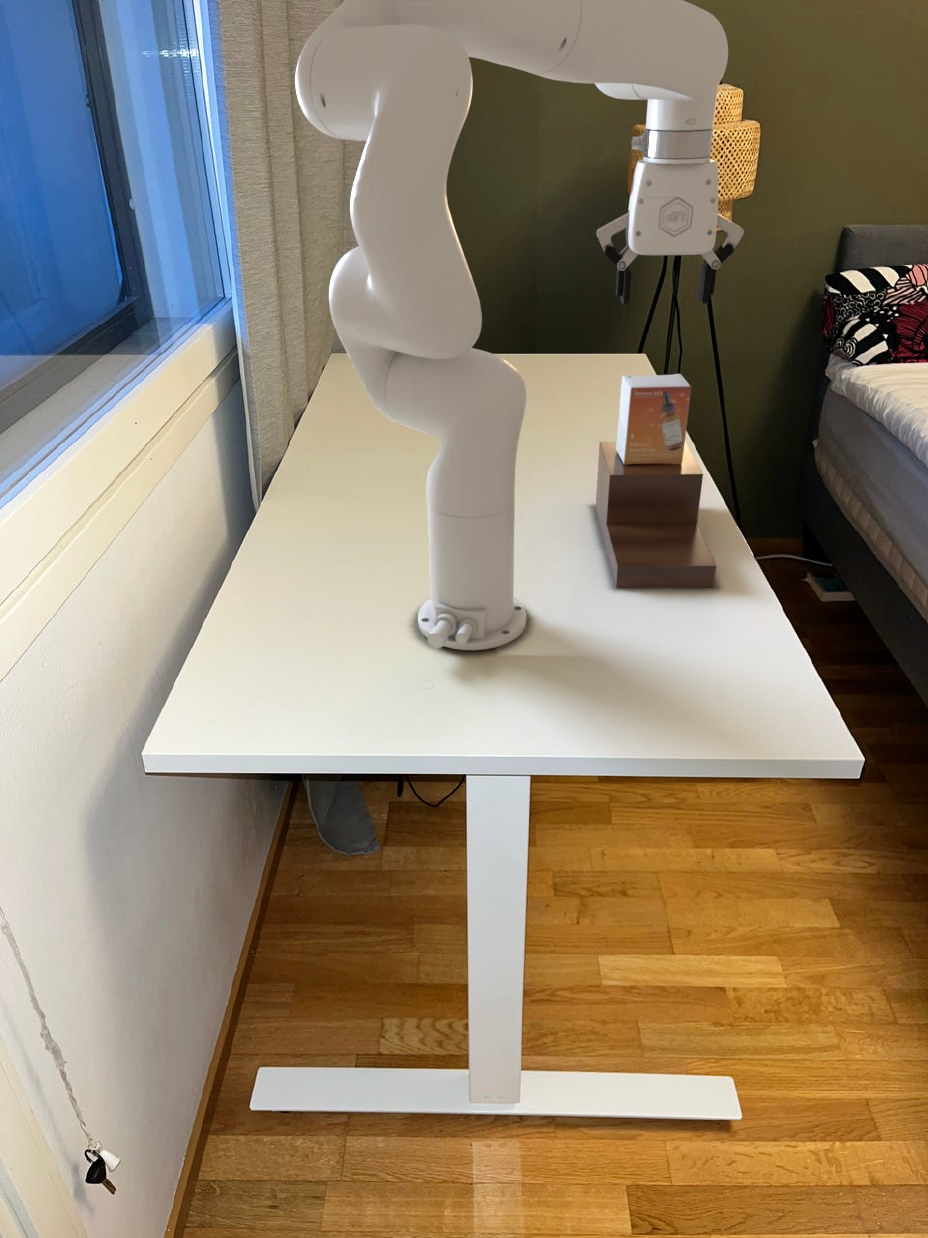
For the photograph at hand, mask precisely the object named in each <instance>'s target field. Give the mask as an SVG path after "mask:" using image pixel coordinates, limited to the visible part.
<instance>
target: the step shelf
mask: <svg viewBox="0 0 928 1238" xmlns="http://www.w3.org/2000/svg"><path fill="white" fill-rule="evenodd" d="M616 445H617V441H599V447H598V460H597V461H598V463H597V478H596V479H597V480H596V495H595V510H596V513H597V517H598V522H599V525H600V530H601V534H602V538H603V541H604V544H605V550H606V554H607V558H608V563H609V565H610V569H611V573H612V577H613V581H614V585H615V589H644V588H645V589H646V588H647V589H650V588H653V589H655V588H657V589H659V588H667V589H668V588H669V589H670V588H671V589H672V588H714V585H715V581H716V580H715V579H716V572H717V565H716V562H715V560H714V557H713V556H712V553H711V550H710V549H709V547H708V545H707V542H706V540H705V537H704V536H703V534H702V533H703V532H702V531H701V529H700V527H699V525H698V519H699V512H700V511H699V510H700V503H701V502H700V501H701V495H702V486H703V478H704V473H703V471H702V469H701V467H700V465H699V464H698V462H697V460H696V458H695V456H694V454H693V452H692V450H691V448H690V446H689V444H688V443H687V440H685V444H684V453H683V460H682V463H681V464H657V463H655V464H624V463H623V461H622V459H621V458H620V456H619V454H618V452H617V450H616Z"/></svg>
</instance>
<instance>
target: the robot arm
mask: <svg viewBox="0 0 928 1238" xmlns="http://www.w3.org/2000/svg"><path fill="white" fill-rule="evenodd" d="M470 58H474V59H477V60H478V59H479V60H483V61H487V62H490V63H493V64H497V65H500V66H504V67H510V68H513V69H516V70H520V71H524V72H526V73H529V74H532V75H535V76H539V77H541V78H545V79H548V80H553V81H560V82H567V83H575V84H594V85H595V86H596V88H597V89H598V90H599V91H600V92H601V93H603V94H604V95H606V96H608V97H611V98H614V99H619V100H632V101H633V100H634V101H635V100H638V101H639V100H640V101H647V107H646V117H645V120H646V121H645V129H644V130H643V132H642V134H639V135H638V136H637V135H636V136H635V135H634V136H632V137H631V150H637V151H640V152H641V153H642V155H643V157H642V158H643V159H638V160H637V162H636V166H635V170H634V174H633V177H632V178H633V179H632V184H631V189H630V196H629V201H628V208H627V209H628V210H627V212H626V213H625V214H622V215H621V216H619V217H618V218H616V219H613V220H612V221H610V222H608V223H606V224H605V225H603V226H601V227H599V228H597V230H596V232H595V234H596V236H597V239H598V241H599V243H600V246H601V248H602V250H603V252H604V254H605V255H606V257H607V258H608V259H609V260H610V262H612V264H614V266H615V267H616V279H615V282H616V283H615V296H616V297H619V300H620V302H621V304H622V305H624V306H625V305H628V304H630V297H631V295H630V294H631V282H632V270H631V269H630V265H631V264H632V263H633V262H634V260H635V259H636V258H637V257H638V256H639V255H640V256H689V255H690V256H694V255H695V256H696V255H700V256H701V257H702V258H703V260H704V261H703V264H702V265H701V266H700V269H699V273H700V274H699V280H698V289H697V299H698V300H699V301H700V302H701V303H702V304H703V305H704V304H705V305H706V304H707V305H708V304H709V301H710V296H713V295H714V293H715V286H716V285H715V284H716V276H717V270H718V269H719V268H720V267H721V265H722V264H723V263H724V262H725V261H726V260H727V259H728V258H729V257H730V256H731V255H732V254H733V253H734V250H735V249H736V246H738V244H739V242H740V241H741V239H742V237H743V236H744V234H745V230H744V228H743V227H741V226H740V225H738V224H736V223H734V222H733V221H731V220H729V219H728V218H726V217H724V216H722V215H721V214H719V213H718V211H719V167H718V165H719V164H718V161H717V160H715V159H712V158H711V155H712V145H713V136H714V126H715V116H716V107H717V99H718V87H719V84H720V83H721V81H722V79H723V77H724V75H725V72H726V70H727V65H728V60H729V44H728V37H727V35H726V32H725V30H724V27H723V25H722V23H721V22H720V21H719V20H718V19H717V18H716V16H715V15H713V14H712V13H711V12H709V11H707V10H705V9H703V8H702V7H699V6H697V5H696V4H693V3H690V2H688V1H686V0H344V1H343V2H342V3H341V4H340V5H339V6H338V7H337V8H336V9H335V10H333V12H331V14H330V15H329V16H328V17H327V18H326V19H324V21H323V22H322V23H320V25H319V26H318V27H317V28H316V29H315V30H314V31H313V32H312V33H311V35H310V36H309V38H308V39H307V40H306V42H305V44H304V45H303V47H302V50H301V52H300V54H299V56H298V60H297V65H296V68H295V76H294V84H295V93H296V97H297V100H298V101H297V102H298V105H299V106H300V108H301V109H300V110H302V113H303V115H304V117H306V119H307V120H308V122H309V123H310V124H311V125H312V126H313V127H314V128H315V129H317V130H318V131H320V132H321V133H322V134H324V135H326V136H329V137H331V138H335V139H338V140H343V141H344V140H345V141H357V142H358V141H359V142H365V145H364V147H363V151H362V155H361V158H360V161H359V164H358V167H357V170H356V174H355V177H354V181H353V184H352V188H351V193H350V201H349V213H350V215H349V216H350V221H351V226H352V230H353V234H354V237H355V240H356V243H357V245H358V246H356V247H354V248H352V249H350V250H349V251H347V252H346V253H344V254H343V256H342V257H340V259H339V260H338V262H337V263H336V265H335V267H334V269H333V270H332V271H333V272H332V274H331V277H330V282H329V287H328V288H329V289H328V304H329V312H330V316H331V320H332V324H333V326H334V329H335V331H336V334H337V336H338V337H339V338H338V339H339V340H340V343H341V344H342V347H343V348H344V350H345V352H346V354H347V357H348V358H349V360H350V363H351V364H352V366H353V368H354V371H355V372H356V374H357V376H358V379H359V381H360V382H361V385H362V387H363V388H364V390H365V393H366V394H367V396H368V398H369V399H370V401H371V403H372V404H373V406H374V407H375V408H376V410H378V412H379V413H380V414H381V415H382V416H383V417H385V418H386V419H388V420H389V421H391V422H393V423H395V424H396V425H400V426H403V427H405V428H409V429H412V430H414V431H417V432H422V433H424V434H427V435H429V436H431V437H433V438H436V439H438V440H439V442H440V446H439V447H440V448H439V450H438V453H437V455H436V456H435V458H434V460H433V461H432V463H431V465H430V467H429V469H428V472H427V477H426V483H425V496H426V499H425V500H426V513H427V538H428V561H429V562H428V563H429V566H428V567H429V589H430V591H429V593H430V598H429V599H428V600H426V601H425V602H424V603H423V604H422V605H421V607H420V608H419V610H418V613H417V624H418V629H419V630H420V632H421V634H422V635H423V636H424V637H426V639H427V643H428V645H429V646H430V647H432V648H433V649H437V650H438V649H441V648H443V647H445V648H449V649H453V650H459V651H460V650H461V651H483V650H490V649H494V648H495V649H496V648H497V647H502V646H504V645H506V644H508V643H511V642H512V641H514V640H515V639H517V638H518V637H519V636H520V635H521V634H522V633H523V632H524V631H525V628H526V626H527V611H526V608H525V606H524V605H523V604H522V603H521V602H520V601H519V600H518V599H516V598H515V597H514V583H515V582H514V575H515V572H514V571H515V565H514V564H515V509H516V508H515V502H516V501H515V495H516V493H515V491H516V490H515V486H516V464H517V453H518V446H519V440H520V435H521V431H522V426H523V421H524V417H525V416H524V415H525V412H526V406H527V390H526V389H527V388H526V385H525V381H524V378H523V377H522V374H521V373H520V372H519V371H518V369H517V368H516V367H515V366H514V365H513V364H512V363H511V362H509V361H508V360H507V359H505V358H504V357H501V356H499V355H497V354H494V353H492V352H489V351H485V350H482V349H478V348H475V347H474V345H475V344H476V342H477V341H478V339H479V337H480V334H481V331H482V326H483V324H482V323H483V315H482V313H483V312H482V307H481V302H480V297H479V295H478V291H477V288H476V285H475V282H474V280H473V276H472V273H471V271H470V269H469V264H468V262H467V259H466V256H465V255H464V254H465V253H464V251H463V248H462V245H461V242H460V239H459V237H458V234H457V231H456V228H455V225H454V222H453V218H452V215H451V211H450V208H449V203H448V197H447V181H448V174H449V169H450V165H451V161H452V158H453V154H454V151H455V148H456V145H457V142H458V139H459V137H460V135H461V131H462V129H463V128H464V124H465V122H466V120H467V117H468V113H469V111H470V106H471V102H472V96H473V82H474V80H473V70H472V65H471V61H470ZM717 228H718V229H719V230H722V231H724V232H725V233H726V234H727V236H726V238H725V241H724V242H723V243H722V244H720V246H719V247H717V249H715V251H714V250H713V249H714V247H715V246H716V245H715V244H716V239H717ZM623 230H625V242H626V243H625V244H626V245H625V246H624V247H623V249H622V250H621V252H619V251H618V249H616V247H615V246H614V243H613V242H612V237H613V236H614V235H615V234H617V233H620V232H621V231H623ZM473 347H474V348H473Z"/></svg>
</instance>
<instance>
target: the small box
mask: <svg viewBox="0 0 928 1238" xmlns="http://www.w3.org/2000/svg"><path fill="white" fill-rule="evenodd" d="M620 386H621V387H620V399H619V410H618V423H617V436H616V442H617V445H616V450H617V452H618V454H619V456H620V458H621V459H622V461H623V463H624V464H655V463H657V464H681V463H682V460H683V453H684V444H685V441H686V435H687V426H688V419H689V410H690V401H691V392H692V386H691V385H690V384H689V382H688V381H687V379H685V378H684V376H683V375H682V374H681V373H674V374H660V375H659V374H652V375H622V376H621V385H620Z"/></svg>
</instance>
